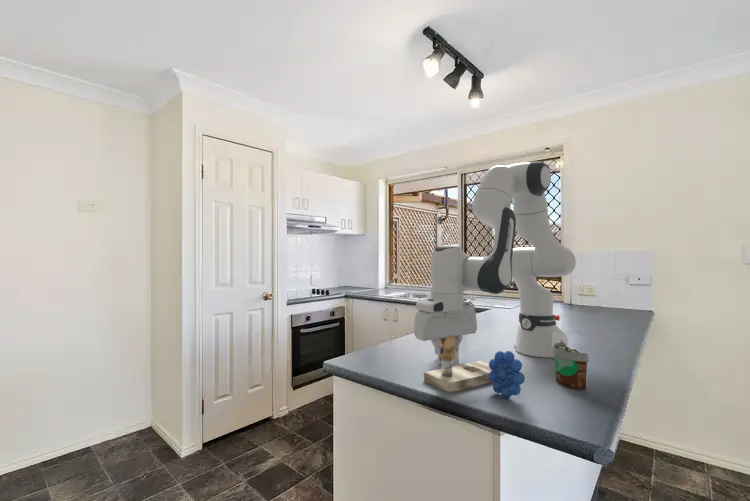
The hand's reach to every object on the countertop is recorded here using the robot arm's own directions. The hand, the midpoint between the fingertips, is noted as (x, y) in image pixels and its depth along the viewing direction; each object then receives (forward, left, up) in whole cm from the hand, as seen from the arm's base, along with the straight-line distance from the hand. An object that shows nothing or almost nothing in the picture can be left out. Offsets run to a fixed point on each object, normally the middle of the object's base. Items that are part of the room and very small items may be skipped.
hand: (446, 352), depth 97 cm
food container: (-29, +16, -9) cm, 34 cm away
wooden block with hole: (-7, 0, -9) cm, 11 cm away
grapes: (-7, +15, -9) cm, 19 cm away
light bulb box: (-15, -16, -9) cm, 24 cm away
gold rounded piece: (0, 0, -6) cm, 6 cm away
